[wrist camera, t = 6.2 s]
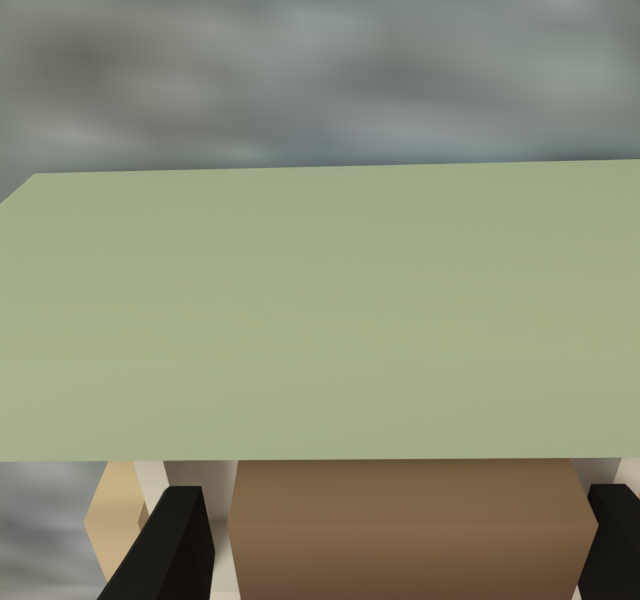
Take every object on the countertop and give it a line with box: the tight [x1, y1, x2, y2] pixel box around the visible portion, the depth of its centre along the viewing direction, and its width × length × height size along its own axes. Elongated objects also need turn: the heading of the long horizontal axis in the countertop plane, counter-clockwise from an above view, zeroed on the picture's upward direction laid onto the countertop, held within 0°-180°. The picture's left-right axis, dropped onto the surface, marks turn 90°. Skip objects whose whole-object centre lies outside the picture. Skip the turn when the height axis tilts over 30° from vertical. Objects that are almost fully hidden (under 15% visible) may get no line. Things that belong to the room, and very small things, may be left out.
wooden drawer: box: [0, 159, 640, 600], centre depth 12 cm, size 10×14×6 cm
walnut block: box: [227, 458, 599, 600], centre depth 11 cm, size 5×5×5 cm
